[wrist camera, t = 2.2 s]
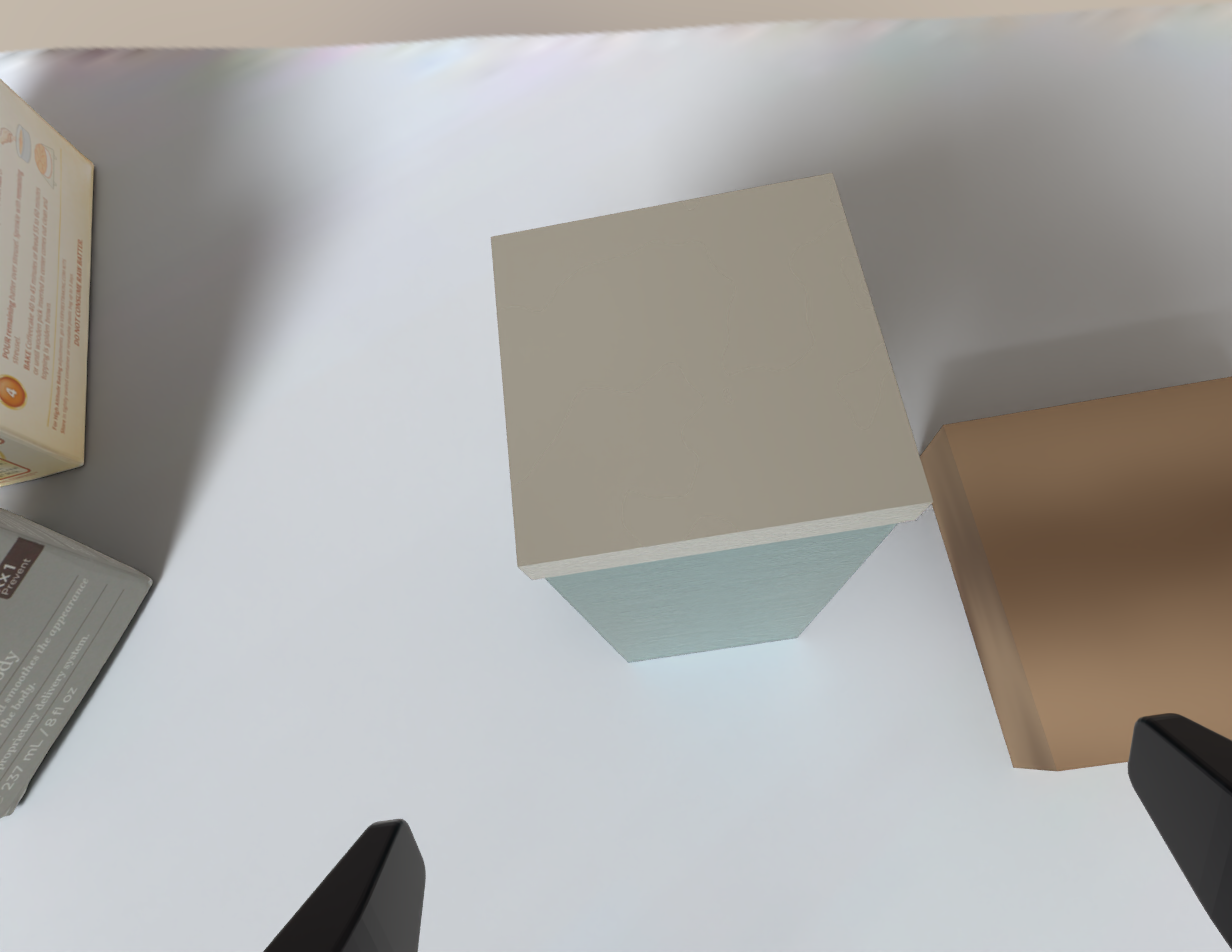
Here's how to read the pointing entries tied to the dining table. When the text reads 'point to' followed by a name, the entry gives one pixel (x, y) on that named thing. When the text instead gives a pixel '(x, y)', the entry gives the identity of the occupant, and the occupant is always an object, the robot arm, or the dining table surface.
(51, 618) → the skincare box
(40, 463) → the coffeecake box
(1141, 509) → the walnut block
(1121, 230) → the dining table surface
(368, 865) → the robot arm
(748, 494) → the tea tin
